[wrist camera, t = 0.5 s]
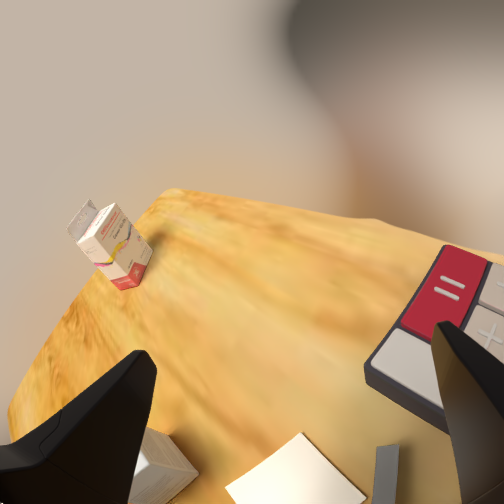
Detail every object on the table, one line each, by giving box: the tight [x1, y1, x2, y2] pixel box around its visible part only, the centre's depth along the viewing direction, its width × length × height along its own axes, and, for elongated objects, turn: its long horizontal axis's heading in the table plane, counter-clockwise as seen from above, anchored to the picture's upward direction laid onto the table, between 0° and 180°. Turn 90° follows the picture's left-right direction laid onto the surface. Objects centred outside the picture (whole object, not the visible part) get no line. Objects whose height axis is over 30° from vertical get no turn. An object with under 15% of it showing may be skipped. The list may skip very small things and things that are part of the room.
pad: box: [225, 432, 367, 504], centre depth 17 cm, size 8×8×1 cm
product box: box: [128, 427, 199, 504], centre depth 20 cm, size 6×6×7 cm
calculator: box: [364, 245, 504, 435], centre depth 19 cm, size 11×4×15 cm
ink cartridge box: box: [67, 199, 153, 290], centre depth 45 cm, size 9×5×15 cm, turn 175°
